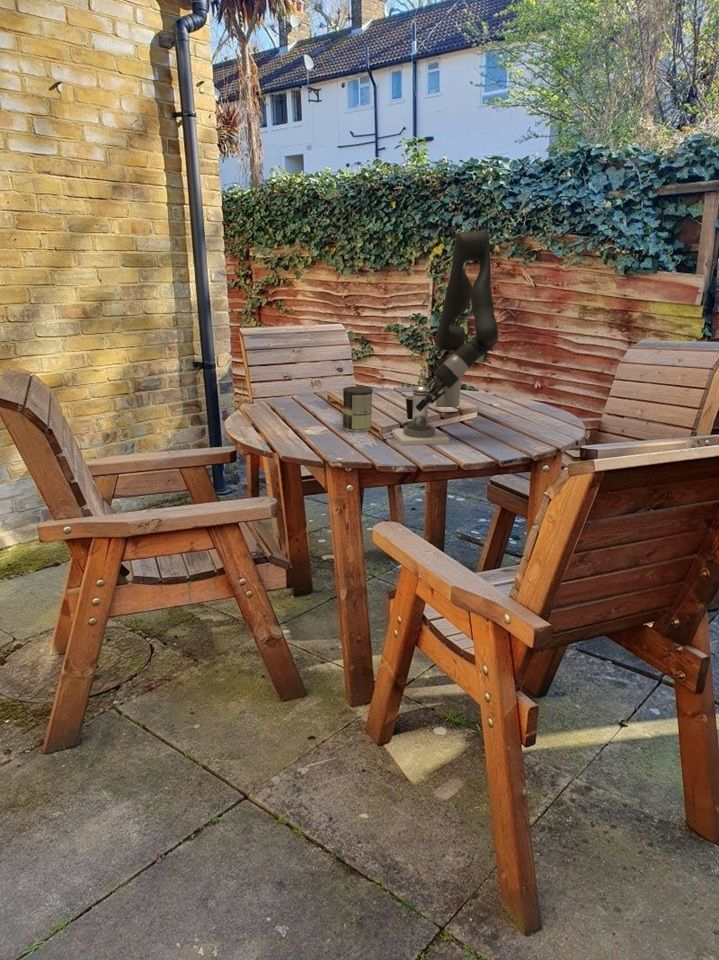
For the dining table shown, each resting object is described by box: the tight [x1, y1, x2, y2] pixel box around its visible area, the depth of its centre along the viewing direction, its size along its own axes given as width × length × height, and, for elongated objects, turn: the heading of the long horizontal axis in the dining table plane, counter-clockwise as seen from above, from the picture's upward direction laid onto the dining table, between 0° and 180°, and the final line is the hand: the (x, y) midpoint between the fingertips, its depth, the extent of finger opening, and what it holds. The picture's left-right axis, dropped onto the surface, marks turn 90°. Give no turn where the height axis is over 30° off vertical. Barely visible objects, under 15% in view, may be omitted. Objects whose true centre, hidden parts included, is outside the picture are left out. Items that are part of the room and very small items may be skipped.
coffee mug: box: [405, 395, 430, 425], centre depth 246 cm, size 12×9×10 cm
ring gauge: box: [392, 424, 451, 446], centre depth 228 cm, size 16×16×4 cm
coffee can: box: [342, 386, 374, 433], centre depth 237 cm, size 10×10×14 cm
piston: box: [412, 385, 429, 425], centre depth 225 cm, size 5×5×12 cm
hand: (415, 407), depth 225 cm, fingers closed on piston, 5 cm apart
